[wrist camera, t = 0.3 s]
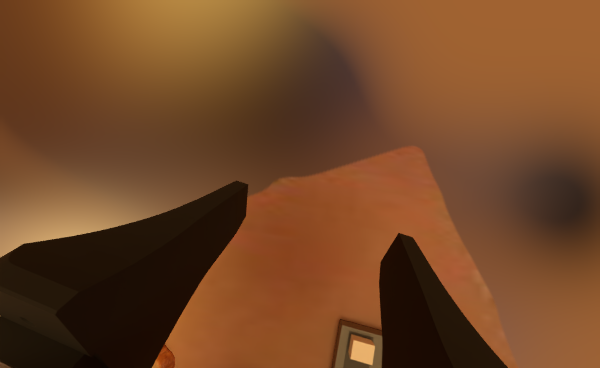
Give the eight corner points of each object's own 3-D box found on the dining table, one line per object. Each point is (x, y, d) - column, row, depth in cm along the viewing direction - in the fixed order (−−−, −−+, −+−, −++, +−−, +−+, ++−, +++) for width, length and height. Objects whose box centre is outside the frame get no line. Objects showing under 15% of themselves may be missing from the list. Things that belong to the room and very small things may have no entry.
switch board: (415, 408, 34) (423, 422, 31) (329, 382, 35) (330, 393, 33) (422, 341, 36) (430, 349, 33) (340, 319, 37) (342, 325, 35)
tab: (368, 357, 33) (372, 365, 31) (348, 351, 34) (350, 358, 32) (371, 339, 34) (375, 346, 32) (351, 334, 34) (353, 340, 32)
